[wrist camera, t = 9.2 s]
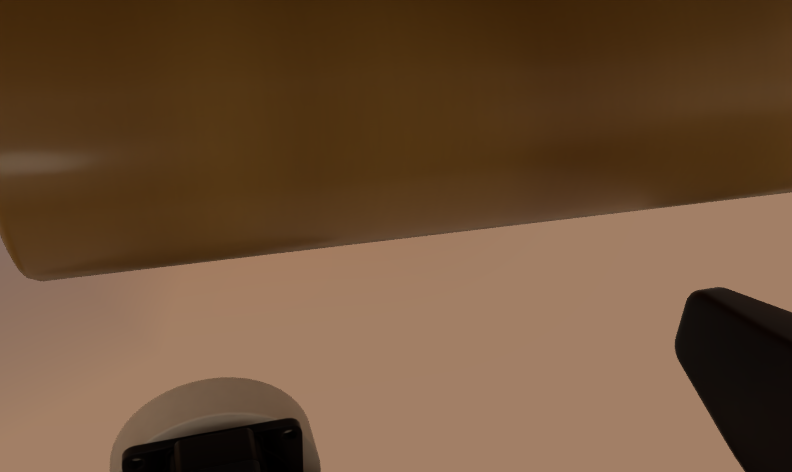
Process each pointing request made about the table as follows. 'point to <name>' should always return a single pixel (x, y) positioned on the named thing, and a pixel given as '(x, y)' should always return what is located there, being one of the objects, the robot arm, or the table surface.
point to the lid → (371, 120)
